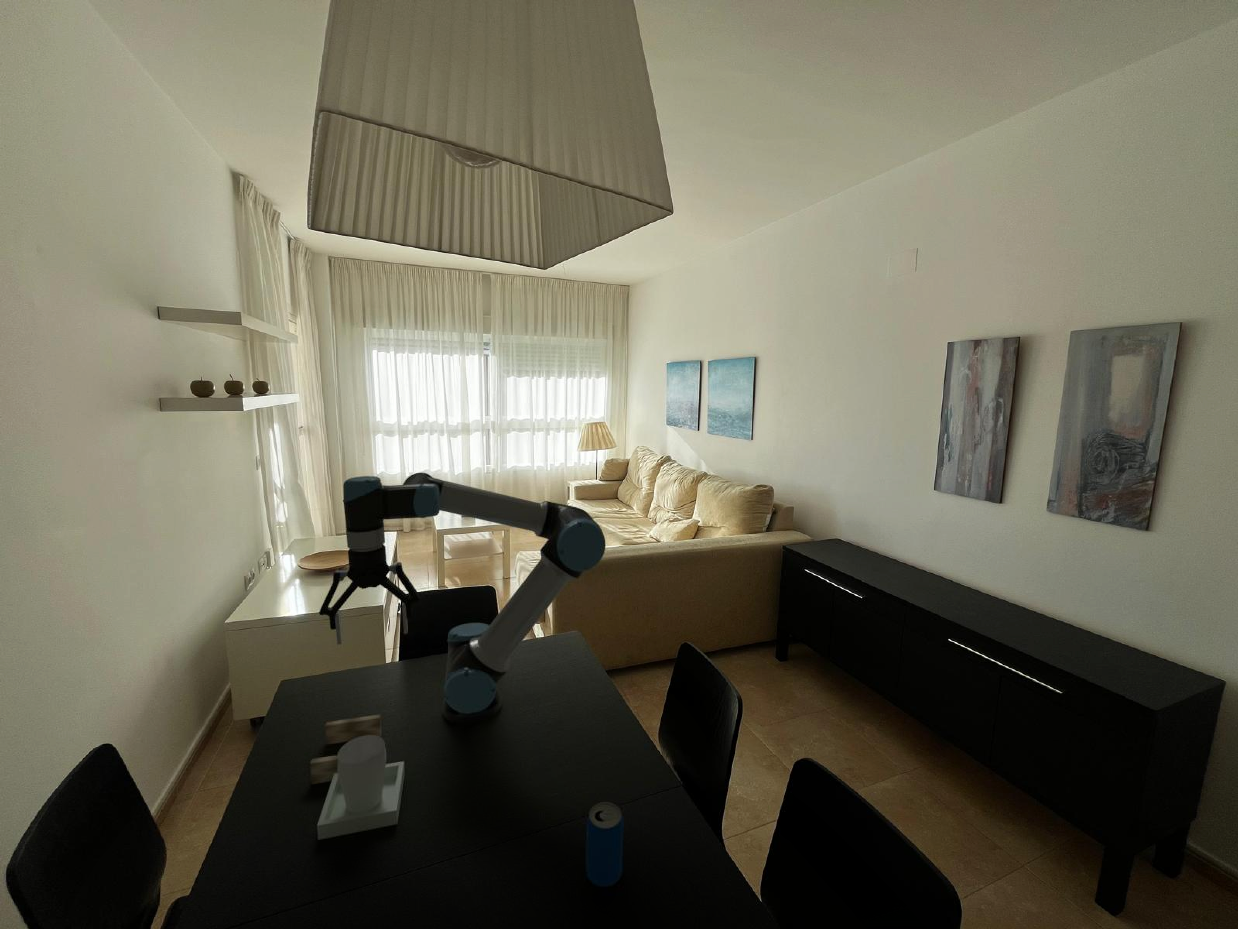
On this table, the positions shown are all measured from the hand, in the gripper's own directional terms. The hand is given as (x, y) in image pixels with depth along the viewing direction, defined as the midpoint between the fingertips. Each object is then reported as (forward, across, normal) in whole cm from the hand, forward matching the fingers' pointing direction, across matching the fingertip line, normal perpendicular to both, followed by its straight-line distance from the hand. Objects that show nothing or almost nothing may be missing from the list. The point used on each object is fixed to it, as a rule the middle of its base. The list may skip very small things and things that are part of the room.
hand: (373, 636), depth 118 cm
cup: (+29, +3, +15) cm, 33 cm away
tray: (+29, +3, +15) cm, 33 cm away
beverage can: (+31, -39, +47) cm, 68 cm away
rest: (+29, +7, -1) cm, 30 cm away
